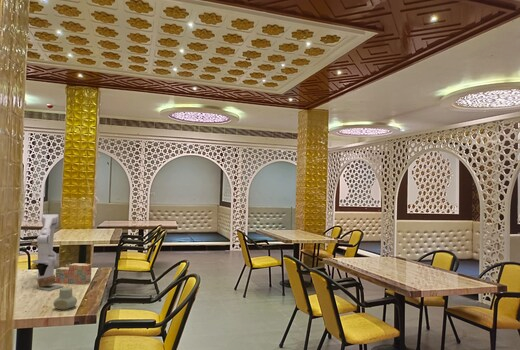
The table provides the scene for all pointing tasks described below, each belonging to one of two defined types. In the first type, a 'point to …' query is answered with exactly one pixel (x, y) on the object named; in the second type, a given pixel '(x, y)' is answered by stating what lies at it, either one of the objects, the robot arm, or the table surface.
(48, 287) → the slate mat
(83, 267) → the stack of blocks
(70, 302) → the air freshener
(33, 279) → the table surface
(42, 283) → the walnut block
